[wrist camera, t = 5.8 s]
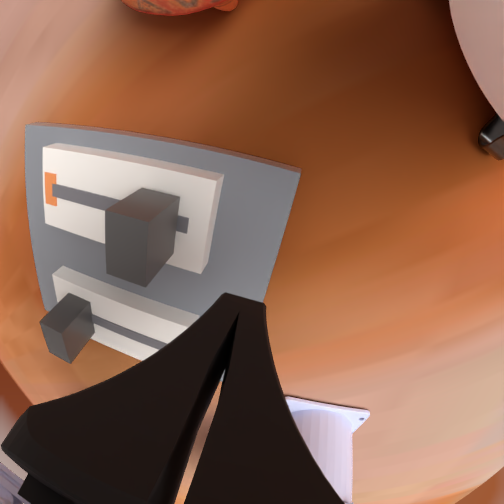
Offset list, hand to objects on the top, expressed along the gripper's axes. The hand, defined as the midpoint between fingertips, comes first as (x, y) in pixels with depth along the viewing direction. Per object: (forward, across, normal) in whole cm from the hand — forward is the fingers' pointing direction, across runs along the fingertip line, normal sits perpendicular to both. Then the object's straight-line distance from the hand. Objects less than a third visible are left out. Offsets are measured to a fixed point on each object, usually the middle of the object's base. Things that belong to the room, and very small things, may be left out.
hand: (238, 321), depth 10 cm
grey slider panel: (+8, +8, +4) cm, 12 cm away
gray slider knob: (+5, +5, 0) cm, 7 cm away
